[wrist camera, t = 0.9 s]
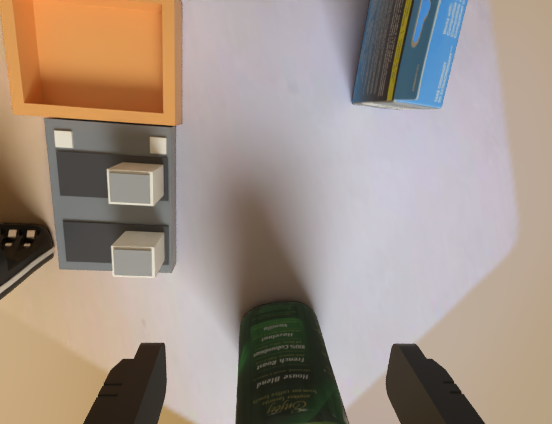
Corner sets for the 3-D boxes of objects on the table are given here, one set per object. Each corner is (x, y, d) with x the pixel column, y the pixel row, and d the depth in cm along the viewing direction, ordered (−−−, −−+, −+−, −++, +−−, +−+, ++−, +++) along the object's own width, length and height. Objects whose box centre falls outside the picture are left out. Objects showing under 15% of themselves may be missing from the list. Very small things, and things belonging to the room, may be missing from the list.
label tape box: (393, 111, 30) (488, 113, 18) (346, 104, 29) (412, 102, 17) (418, -7, 27) (547, -95, 16) (367, -17, 27) (461, -114, 15)
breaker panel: (58, 117, 28) (42, 118, 26) (175, 126, 29) (170, 127, 26) (71, 259, 31) (58, 270, 29) (176, 262, 32) (171, 273, 30)
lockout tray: (24, -13, 25) (-5, -28, 22) (182, 4, 26) (174, -9, 23) (37, 113, 28) (13, 114, 25) (182, 124, 29) (174, 125, 26)
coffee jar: (232, 303, 34) (215, 524, 16) (315, 291, 34) (390, 495, 16) (246, 386, 36) (246, 653, 19) (322, 375, 37) (394, 626, 19)
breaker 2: (125, 230, 28) (110, 246, 25) (164, 232, 29) (153, 248, 25) (127, 258, 29) (111, 277, 26) (164, 260, 29) (154, 278, 26)
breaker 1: (122, 162, 27) (105, 169, 24) (163, 164, 27) (151, 172, 24) (124, 193, 28) (107, 204, 24) (163, 195, 28) (152, 206, 25)
